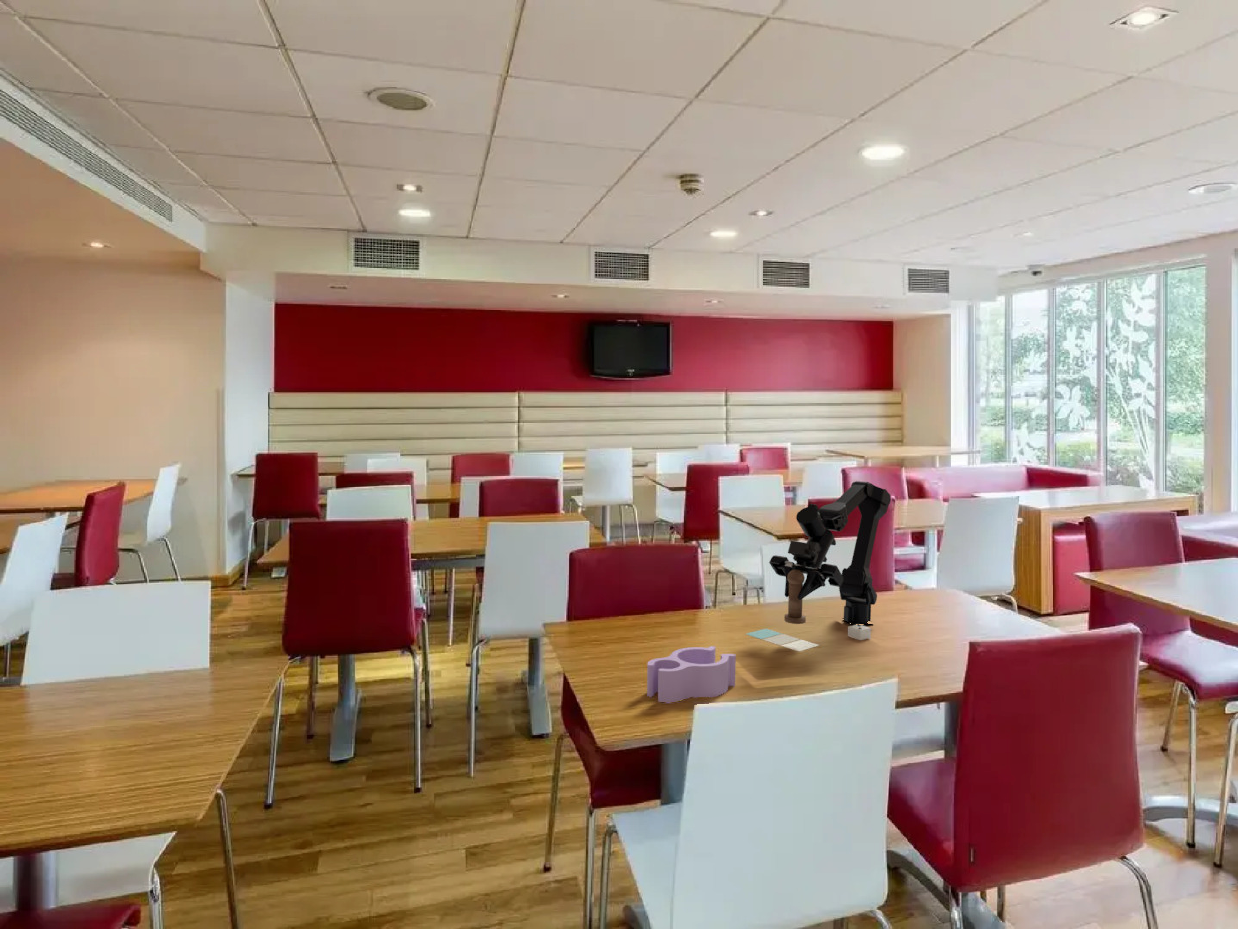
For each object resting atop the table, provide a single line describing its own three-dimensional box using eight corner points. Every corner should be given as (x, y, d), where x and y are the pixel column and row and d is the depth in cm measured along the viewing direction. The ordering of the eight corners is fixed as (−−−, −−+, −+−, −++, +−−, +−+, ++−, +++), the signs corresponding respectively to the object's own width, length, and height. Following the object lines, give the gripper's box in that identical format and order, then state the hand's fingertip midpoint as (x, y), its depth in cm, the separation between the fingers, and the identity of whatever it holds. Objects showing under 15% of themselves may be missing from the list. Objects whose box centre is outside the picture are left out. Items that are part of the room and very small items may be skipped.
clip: (671, 710, 150) (672, 676, 149) (635, 690, 160) (635, 659, 159) (743, 689, 161) (744, 658, 160) (705, 672, 171) (706, 643, 171)
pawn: (800, 617, 190) (801, 567, 189) (809, 623, 185) (810, 571, 184) (781, 618, 189) (782, 567, 188) (789, 624, 184) (790, 572, 183)
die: (858, 639, 196) (858, 623, 196) (870, 643, 193) (870, 626, 193) (847, 641, 194) (848, 625, 194) (860, 645, 191) (860, 629, 191)
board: (741, 638, 196) (741, 633, 196) (764, 632, 201) (764, 627, 201) (800, 658, 181) (800, 652, 181) (823, 650, 186) (823, 645, 186)
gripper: (773, 524, 195) (748, 572, 188) (838, 533, 181) (814, 585, 175) (789, 550, 201) (765, 597, 194) (853, 560, 188) (830, 612, 181)
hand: (792, 597), depth 186 cm, fingers closed on pawn, 3 cm apart
